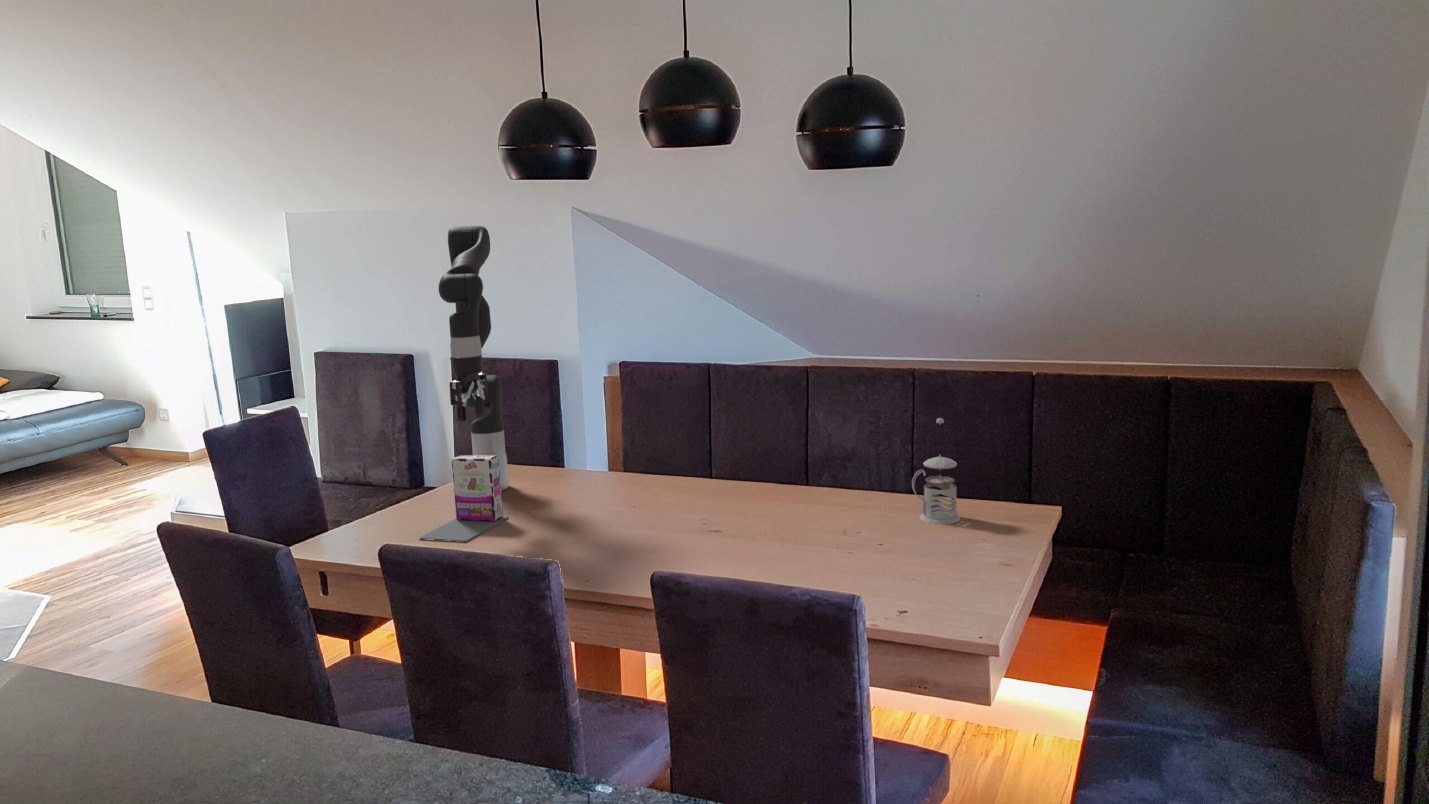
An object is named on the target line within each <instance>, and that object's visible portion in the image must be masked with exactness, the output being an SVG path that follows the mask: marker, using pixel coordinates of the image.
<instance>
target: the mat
mask: <svg viewBox="0 0 1429 804" xmlns="http://www.w3.org/2000/svg"><path fill="white" fill-rule="evenodd" d="M509 519H510V518H509V515H507V516H506V515H503V517H502V518H500V519H498V520H497V521H463V520H457V518H454V519H453V520H450V521H447V523H445V524H443V525H441V526H438V527H437V528H435V529H433V530H431V531H429V532H428V533H426V534H424V535H422V536H420V537H419V538H420V539H434V540H451V541H462V542H461V543H463V542H467V541H469V540H470V541H472V540H474V539H475V538H477V537H478V535H479V536H481V535H482V534H484V533H485V531H486V532H487V530H488V531H489V530H491V529H493V528H495V527H496V526H498V525H500V524H502V523H503V522H505V521H506V520H509ZM501 522H502V523H501ZM494 526H495V527H494ZM492 527H493V528H492ZM483 532H484V533H483ZM480 534H481V535H480ZM476 536H477V537H476ZM474 537H475V538H474ZM473 538H474V539H473ZM471 539H472V540H471ZM470 541H469V542H470ZM467 543H468V542H467Z"/></svg>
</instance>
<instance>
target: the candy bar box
mask: <svg viewBox="0 0 1429 804" xmlns="http://www.w3.org/2000/svg"><path fill="white" fill-rule="evenodd" d="M450 460H451V469H452V480H453V481H452V483H453V492H454V494H453V495H454V503H455V504H454V505H455V516H456V518H457V520H463V521H497V520H498V519H500V518H502V517H503V516H504V511H503V510H504V509H503V497H502V491H501V484H500V471H499V458H498V455H473V454H472V455H471V454H470V455H469V454H460V455H457V456H455V457H453V458H451V459H450ZM456 518H455V519H456Z"/></svg>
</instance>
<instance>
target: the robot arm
mask: <svg viewBox="0 0 1429 804" xmlns="http://www.w3.org/2000/svg"><path fill="white" fill-rule="evenodd" d="M447 246H448V253H449V259H450V266H451V268H450V269H448V270H447V271H446V272H445V273H444V274H443V275H442V276H441V277H440V281H439V283H438V293H439V296H440V298H441V299H442V300H443V301H444V302H446V303H448V304H455V312H454V313H451V314H450V315H449V318H448V321H449V322H448V323H449V333H450V346H449V347H450V359H451V371H452V372H451V373H452V374H453V375H456V376H457V377H456V380H450V381H449V396H450V397H449V398H450V399H449V401H450V405H451V406H455V407H456V412H457V413H456V414H457V421H458V422H467V420H468V416H467V415H468V413H467V408H468V409H474V411H475V415H477V416H482V417H480V418H477V419H475V420H473V421H472V422H471V423H470V435H471V446H472V447H471V448H472V455H498V458H499V471H500V484H501V492H503V491H505V490H507V489H508V488H509V485H510V483H509V471H508V469H509V468H508V458H507V453H506V441H505V430H504V428H505V426H504V414H503V386H502V380H501V378H500V377H499V375H497V374H489V375H488V374H486V373H484V368H483V367H484V366H483V353H482V349H483V347H484V346H485V344H486V342H487V340H488V339H489V336H490V334H491V331H492V322H491V321H492V320H491V310H490V305H489V303H488V301H487V300H486V299H485V297H484V296H483V291H484V283H483V280H482V278H481V277H480V276H479V274H480V269H481V268H482V267H483V265H484V264H485V262H486V260H487V259H488V257H489V256H490V252H491V239H490V233H489V231H488V229H487V228H486V227H485V226H483V225H482V226H481V225H467V226H465V225H464V226H463V225H462V226H452V227H450V228H449V230H448V232H447ZM455 397H456V398H455ZM486 408H489V409H490V411H489V412H488V413H486V414H485V409H486ZM484 414H485V415H484ZM483 415H484V416H483Z"/></svg>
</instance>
